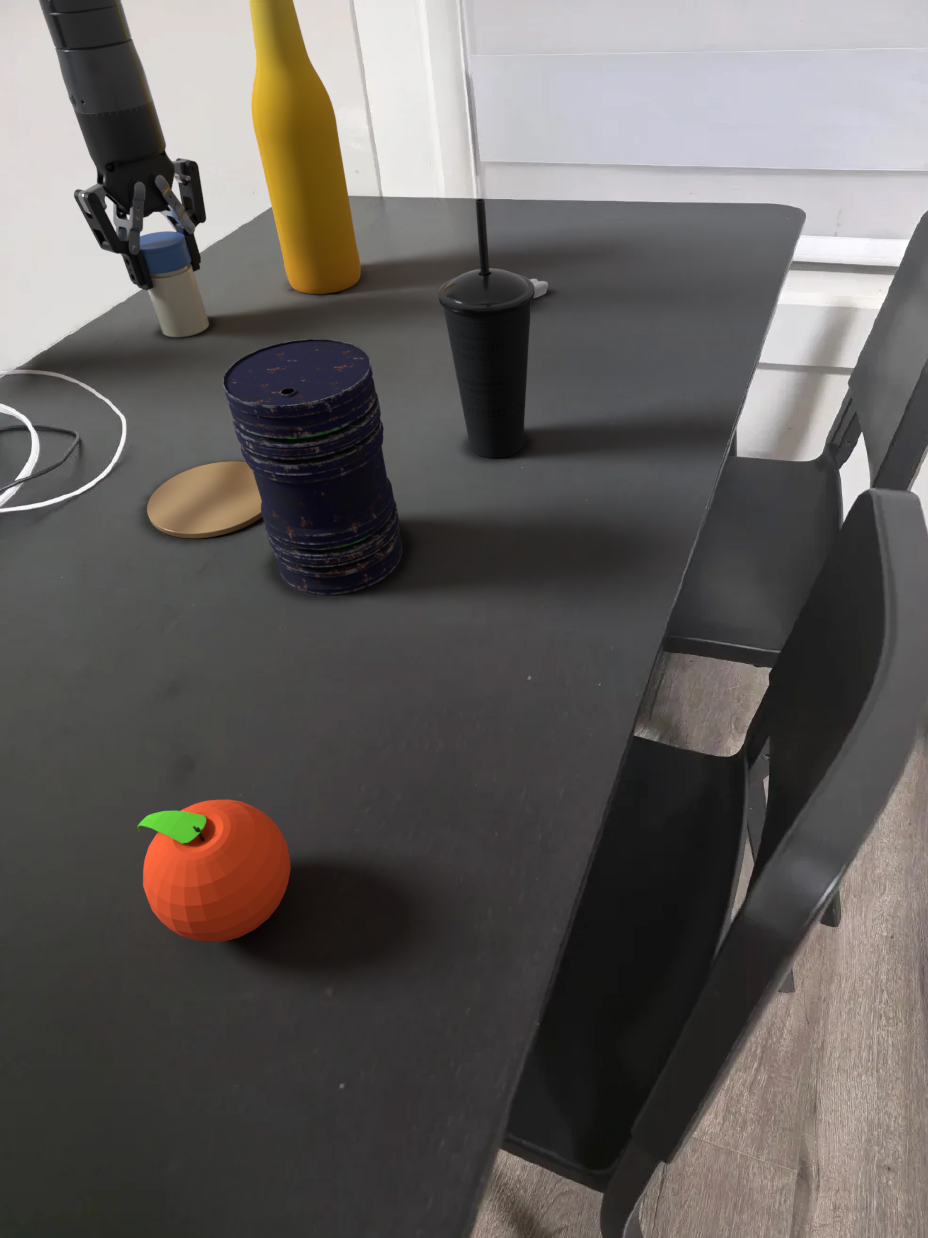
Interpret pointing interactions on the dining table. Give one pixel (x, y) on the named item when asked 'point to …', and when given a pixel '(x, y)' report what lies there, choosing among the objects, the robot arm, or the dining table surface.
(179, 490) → the coaster
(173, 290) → the jar
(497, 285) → the drinking cup
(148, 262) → the jar lid
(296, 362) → the navy ridged cylinder
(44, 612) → the dining table surface
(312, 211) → the beer bottle
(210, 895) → the clementine
